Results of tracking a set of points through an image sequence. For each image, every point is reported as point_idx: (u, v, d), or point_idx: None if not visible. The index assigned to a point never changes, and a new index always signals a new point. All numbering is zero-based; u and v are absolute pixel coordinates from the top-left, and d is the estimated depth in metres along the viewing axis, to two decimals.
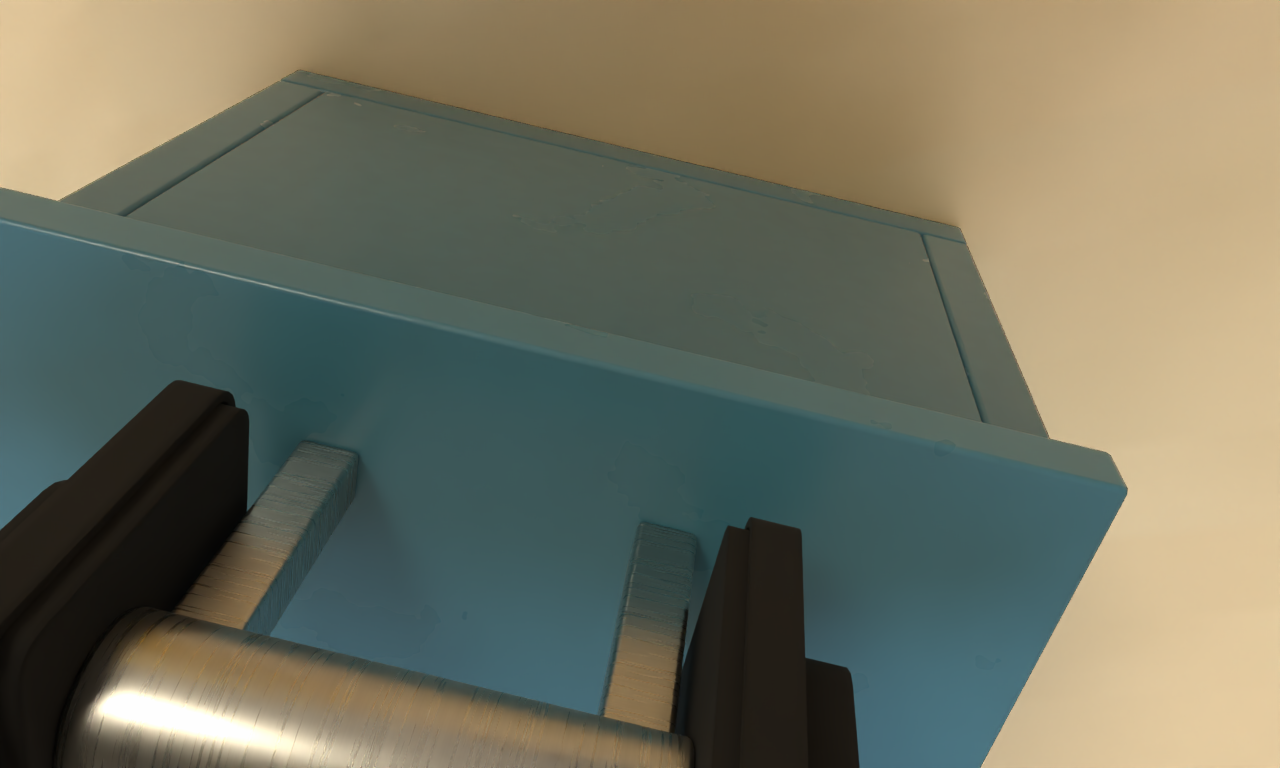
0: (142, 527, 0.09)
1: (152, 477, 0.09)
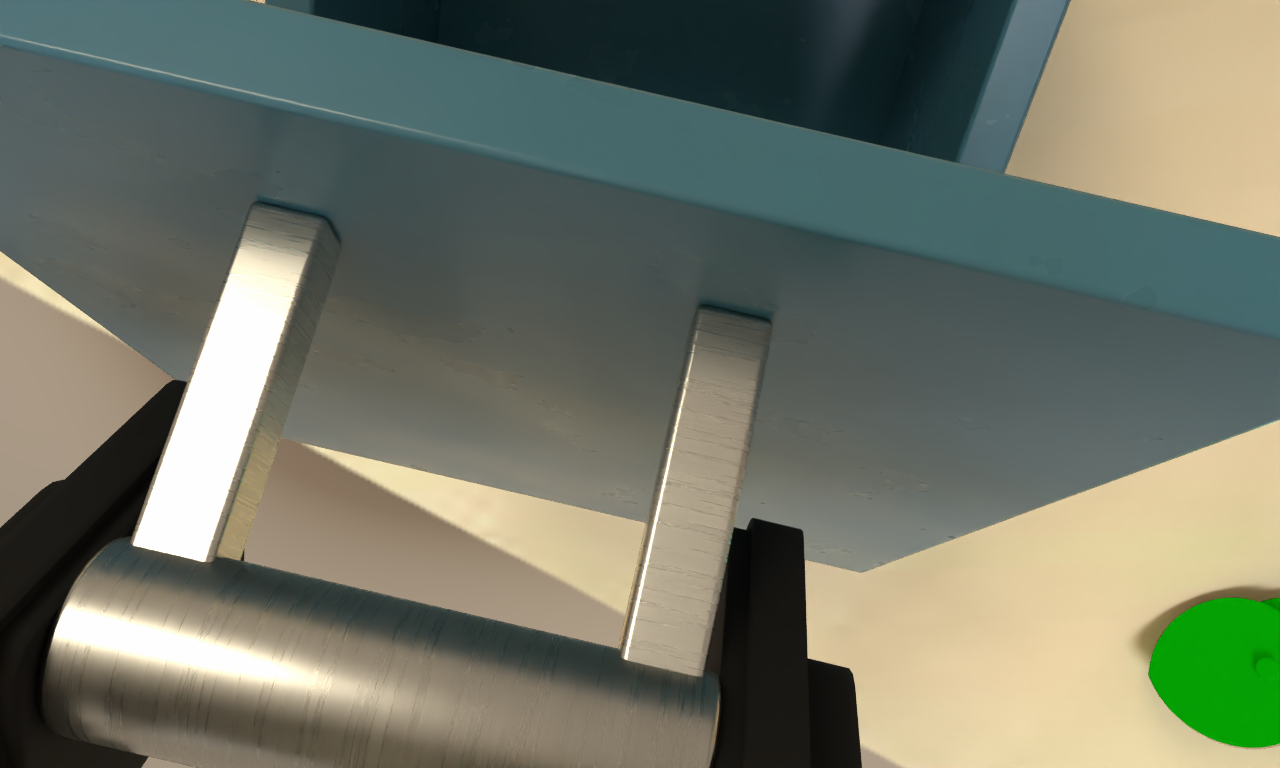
0: None
1: (149, 477, 0.09)
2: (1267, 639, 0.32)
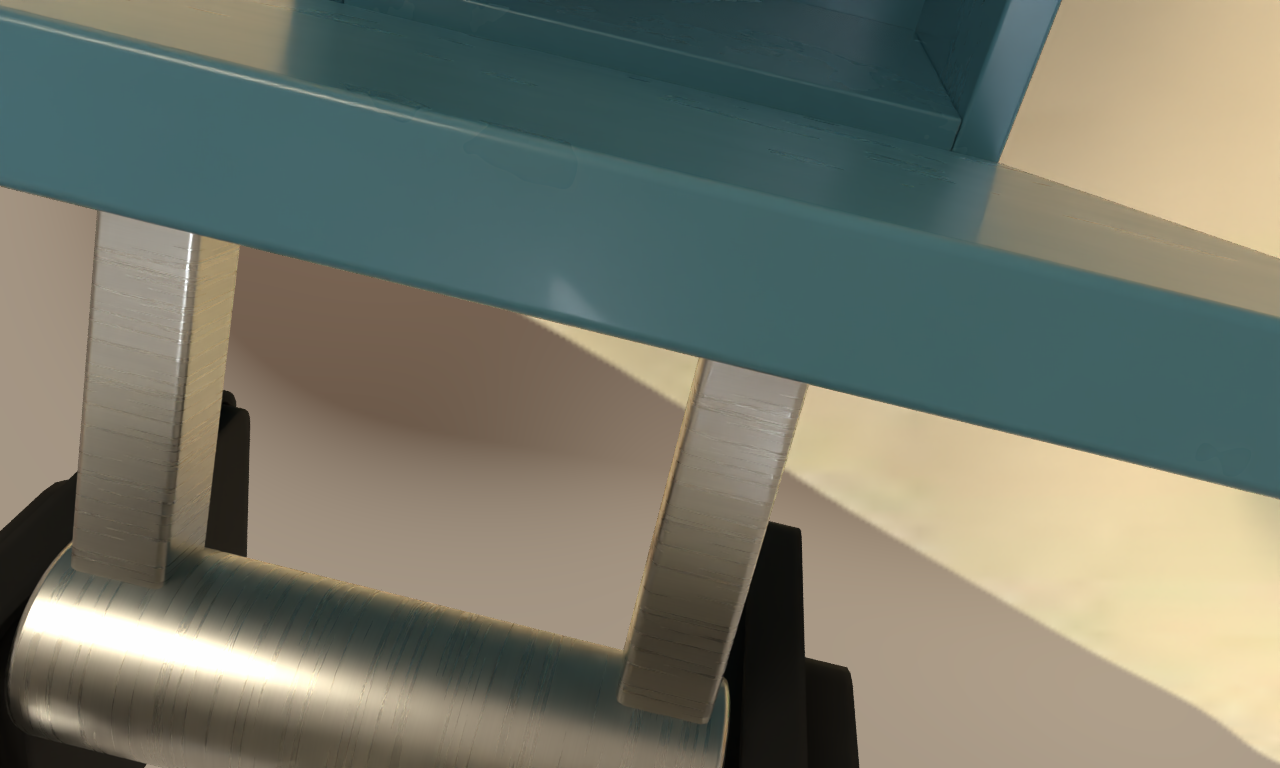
0: None
1: None
2: None
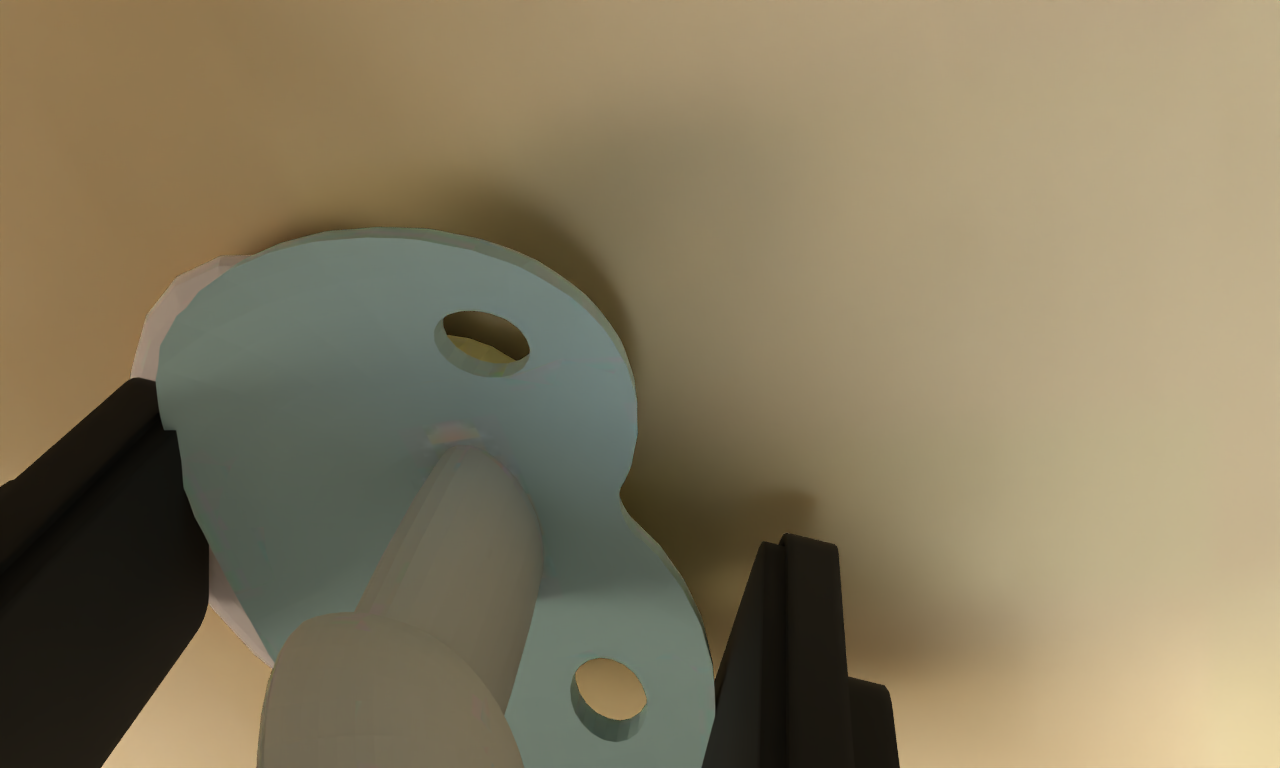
0: (93, 525, 0.09)
1: (104, 475, 0.09)
2: None
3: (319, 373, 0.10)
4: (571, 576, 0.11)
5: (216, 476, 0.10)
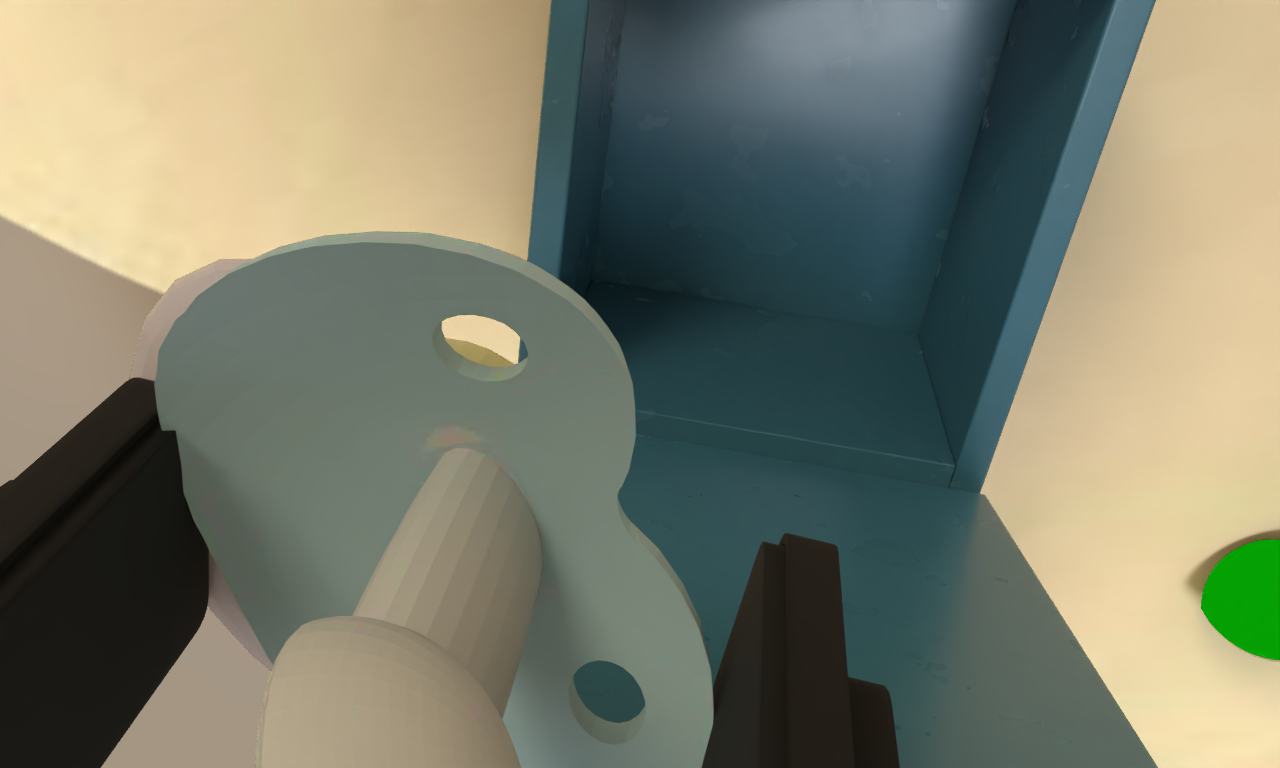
0: (93, 524, 0.09)
1: (104, 475, 0.09)
2: None
3: (318, 377, 0.10)
4: (569, 579, 0.11)
5: (215, 479, 0.10)
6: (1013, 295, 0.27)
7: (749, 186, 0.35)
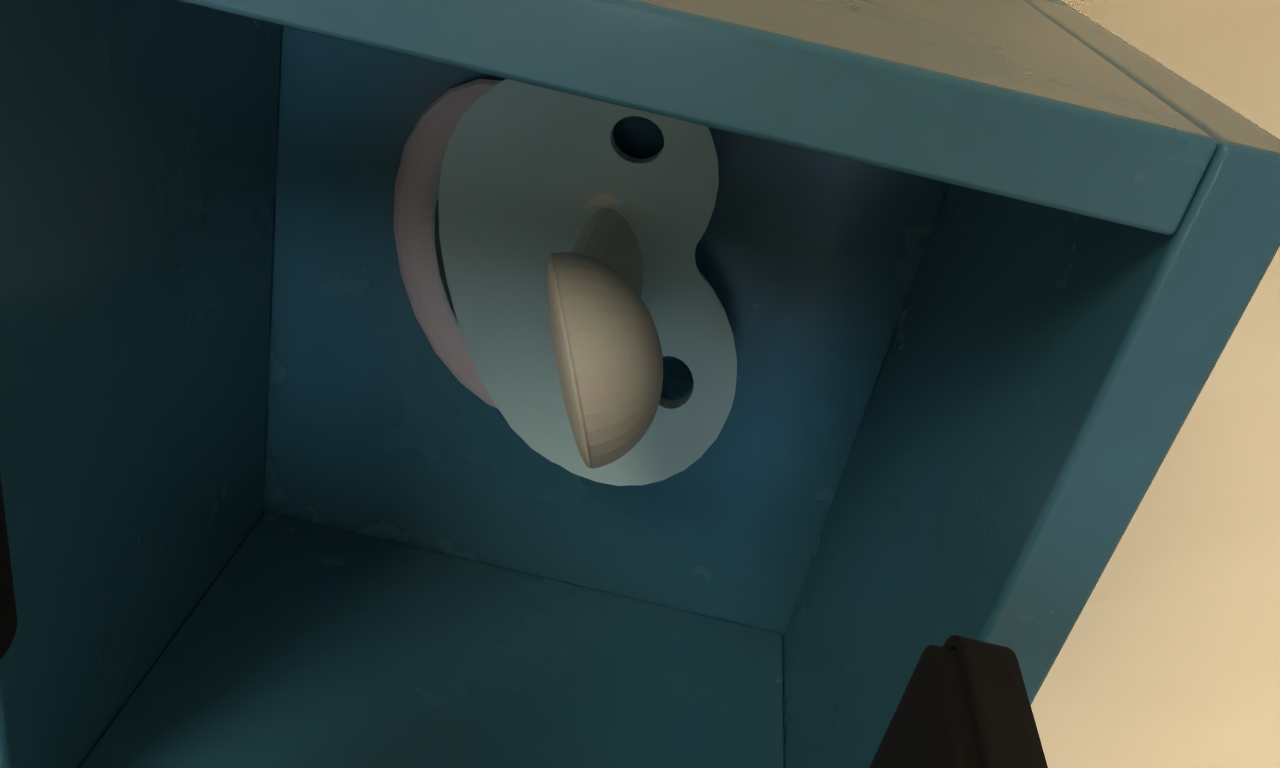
0: None
1: None
2: None
3: (538, 149, 0.17)
4: (656, 302, 0.18)
5: (458, 210, 0.17)
6: None
7: None
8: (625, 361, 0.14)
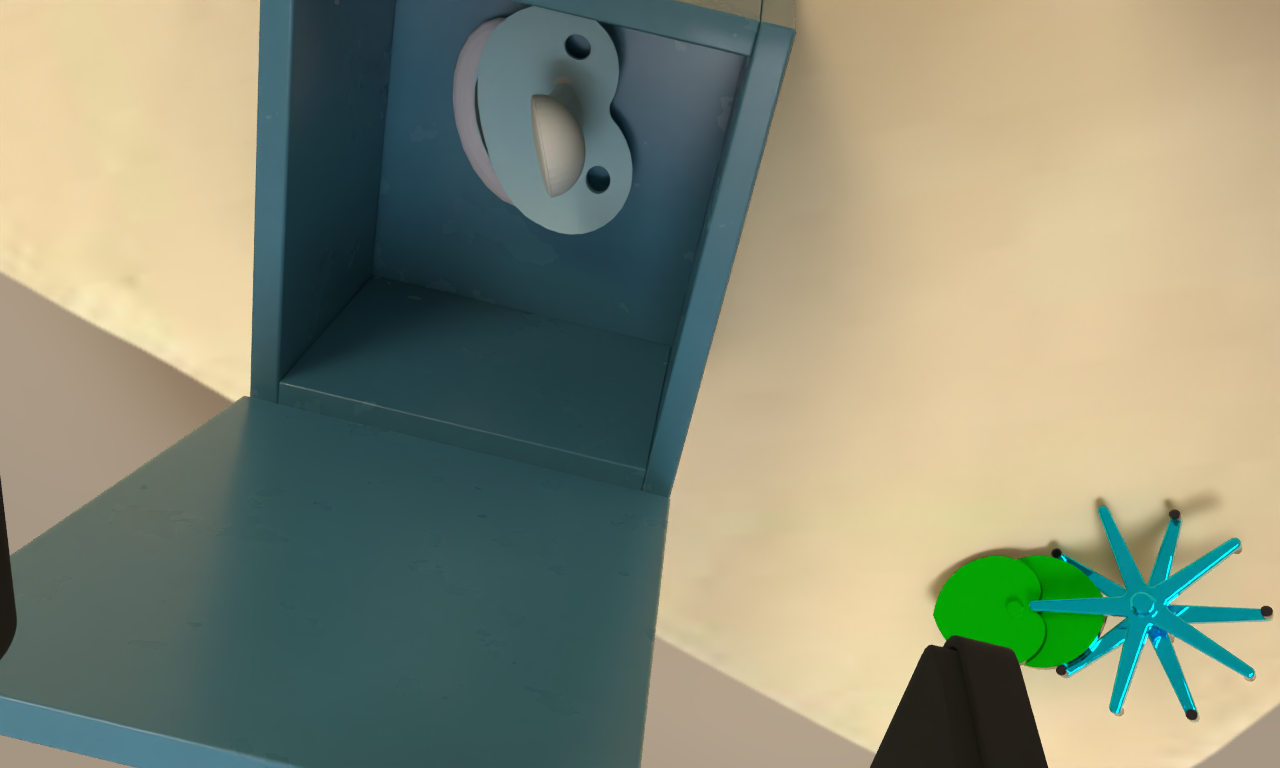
0: None
1: None
2: (1017, 586, 0.42)
3: (528, 52, 0.33)
4: (590, 136, 0.35)
5: (487, 85, 0.34)
6: (684, 320, 0.30)
7: None
8: (565, 137, 0.30)
